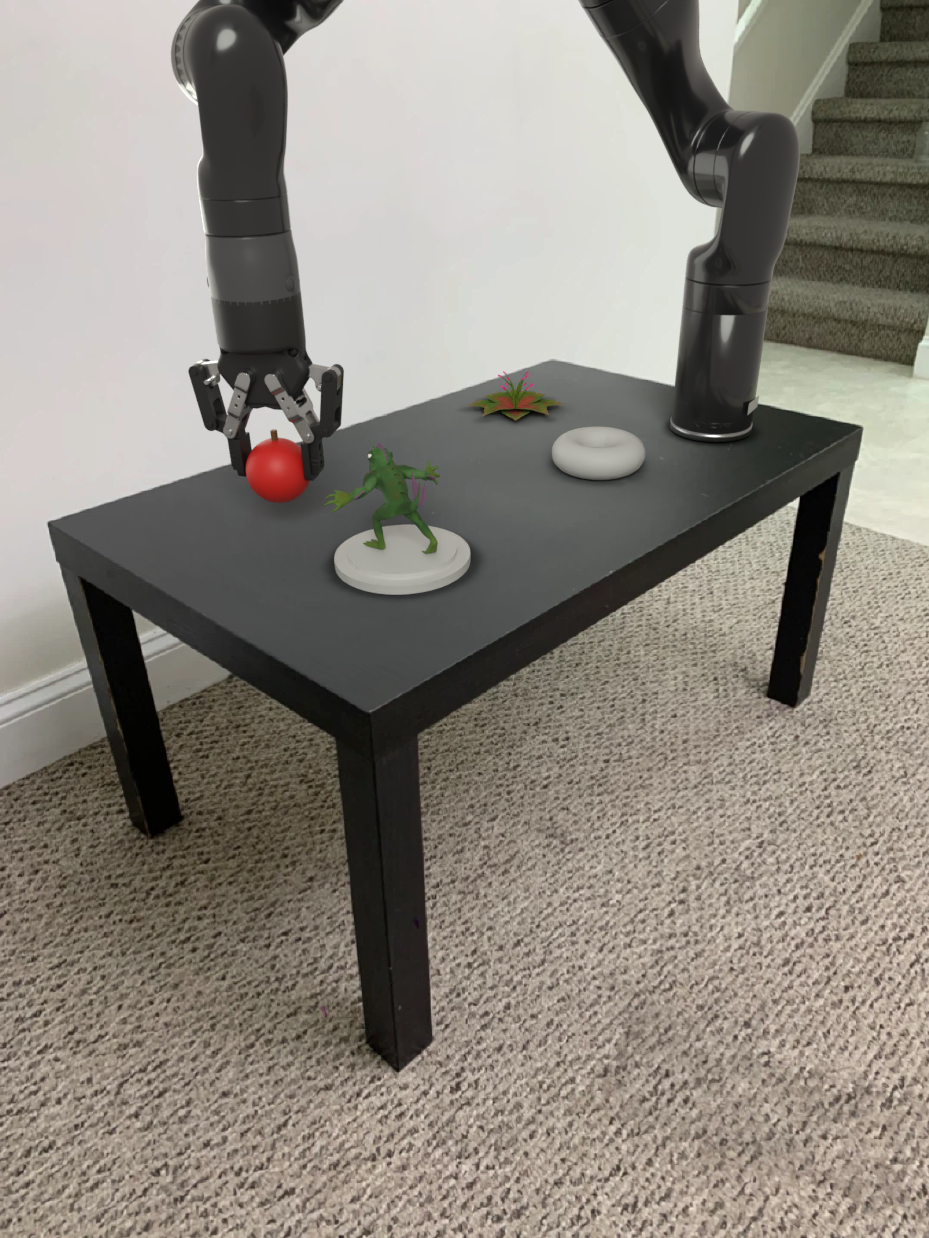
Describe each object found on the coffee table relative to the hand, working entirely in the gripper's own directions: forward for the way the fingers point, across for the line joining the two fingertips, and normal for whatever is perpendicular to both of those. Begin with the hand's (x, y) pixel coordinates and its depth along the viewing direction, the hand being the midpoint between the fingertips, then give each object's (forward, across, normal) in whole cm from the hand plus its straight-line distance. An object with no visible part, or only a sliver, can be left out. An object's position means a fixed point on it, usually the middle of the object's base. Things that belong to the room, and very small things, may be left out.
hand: (278, 475), depth 88 cm
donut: (+5, -28, -20) cm, 35 cm away
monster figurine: (+5, -13, +5) cm, 15 cm away
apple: (+3, 0, 0) cm, 3 cm away
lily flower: (+5, -16, -38) cm, 42 cm away
